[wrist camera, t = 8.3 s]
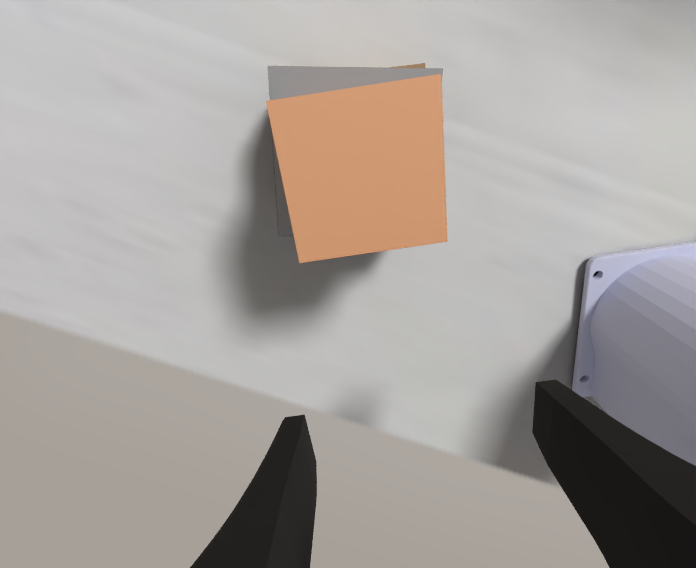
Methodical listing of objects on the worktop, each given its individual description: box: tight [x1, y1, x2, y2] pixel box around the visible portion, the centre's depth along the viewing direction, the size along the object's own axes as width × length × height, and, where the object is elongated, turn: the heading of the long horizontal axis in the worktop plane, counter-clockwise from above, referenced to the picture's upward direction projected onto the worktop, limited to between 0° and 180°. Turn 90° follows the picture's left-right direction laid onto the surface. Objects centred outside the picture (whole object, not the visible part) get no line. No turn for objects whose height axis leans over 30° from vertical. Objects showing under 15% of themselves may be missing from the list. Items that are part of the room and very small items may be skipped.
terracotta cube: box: [266, 74, 447, 263], centre depth 13 cm, size 4×4×4 cm
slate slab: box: [268, 66, 443, 236], centre depth 16 cm, size 6×6×2 cm
